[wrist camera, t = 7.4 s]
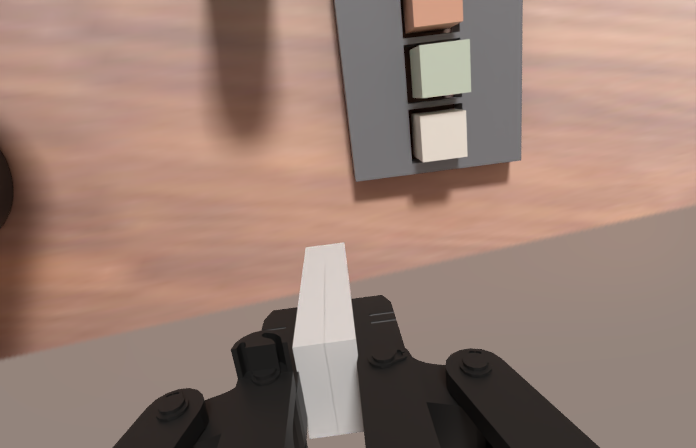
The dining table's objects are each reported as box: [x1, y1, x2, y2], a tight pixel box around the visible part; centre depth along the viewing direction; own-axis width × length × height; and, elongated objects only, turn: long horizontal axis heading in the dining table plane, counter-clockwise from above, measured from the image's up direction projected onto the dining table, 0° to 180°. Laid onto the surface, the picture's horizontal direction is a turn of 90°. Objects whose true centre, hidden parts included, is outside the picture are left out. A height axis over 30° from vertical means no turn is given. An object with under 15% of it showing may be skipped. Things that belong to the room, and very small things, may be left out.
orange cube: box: [403, 0, 463, 34], centre depth 34 cm, size 4×4×4 cm
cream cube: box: [411, 109, 468, 162], centre depth 38 cm, size 4×4×4 cm
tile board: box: [334, 0, 523, 182], centre depth 38 cm, size 16×18×2 cm
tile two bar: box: [410, 39, 471, 98], centre depth 35 cm, size 4×4×4 cm
